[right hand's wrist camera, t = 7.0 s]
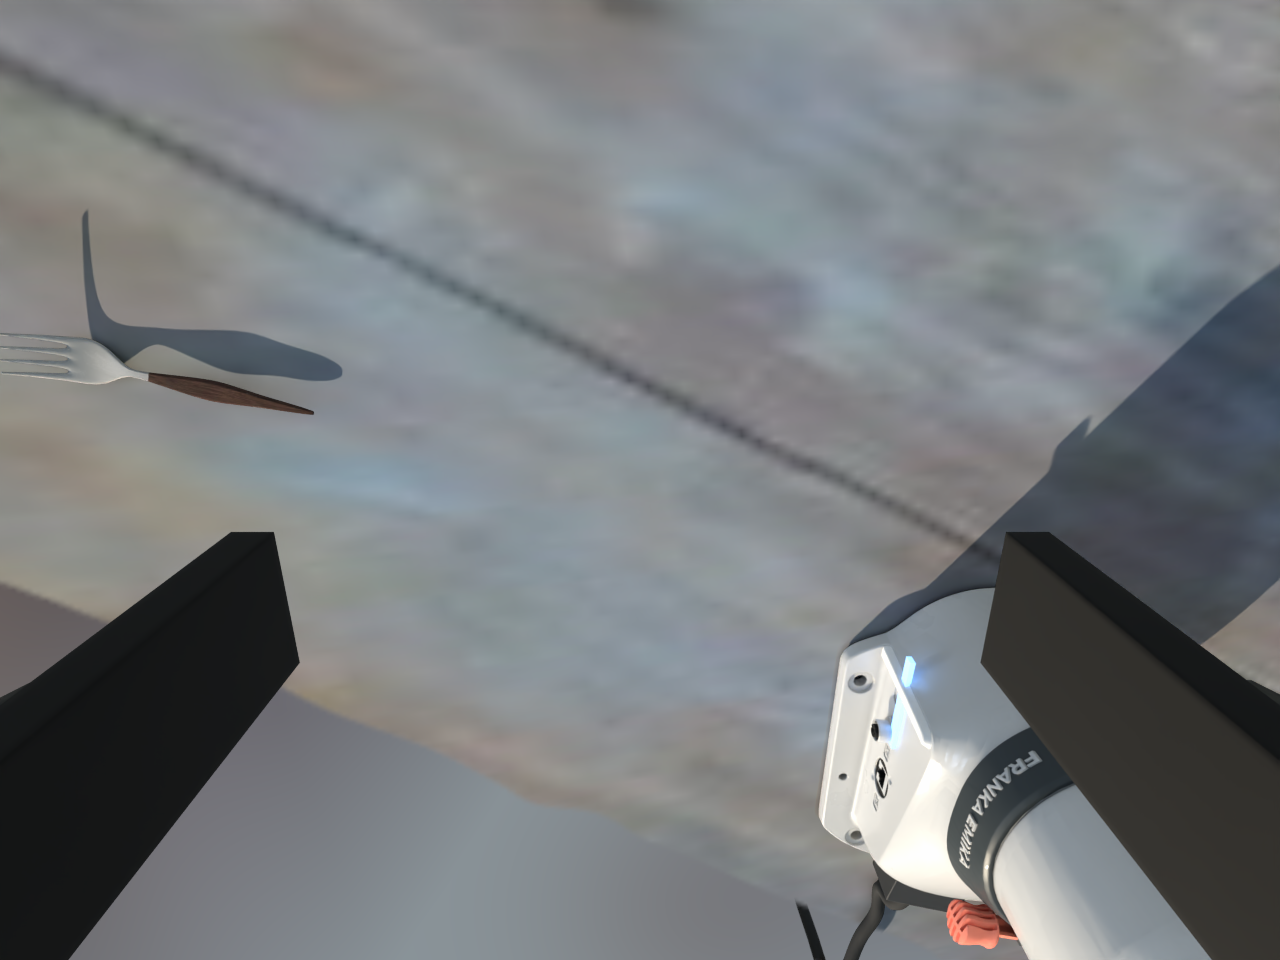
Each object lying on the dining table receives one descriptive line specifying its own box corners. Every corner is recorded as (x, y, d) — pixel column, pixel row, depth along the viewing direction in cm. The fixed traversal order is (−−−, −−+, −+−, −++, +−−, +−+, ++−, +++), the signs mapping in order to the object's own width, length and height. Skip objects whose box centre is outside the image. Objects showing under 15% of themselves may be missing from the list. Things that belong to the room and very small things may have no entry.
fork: (316, 432, 40) (300, 442, 39) (30, 370, 39) (0, 377, 37) (319, 389, 40) (303, 397, 38) (28, 324, 38) (-4, 329, 36)
